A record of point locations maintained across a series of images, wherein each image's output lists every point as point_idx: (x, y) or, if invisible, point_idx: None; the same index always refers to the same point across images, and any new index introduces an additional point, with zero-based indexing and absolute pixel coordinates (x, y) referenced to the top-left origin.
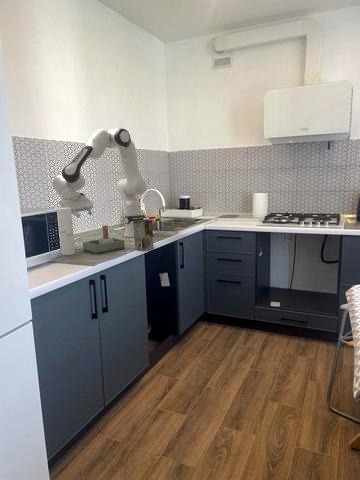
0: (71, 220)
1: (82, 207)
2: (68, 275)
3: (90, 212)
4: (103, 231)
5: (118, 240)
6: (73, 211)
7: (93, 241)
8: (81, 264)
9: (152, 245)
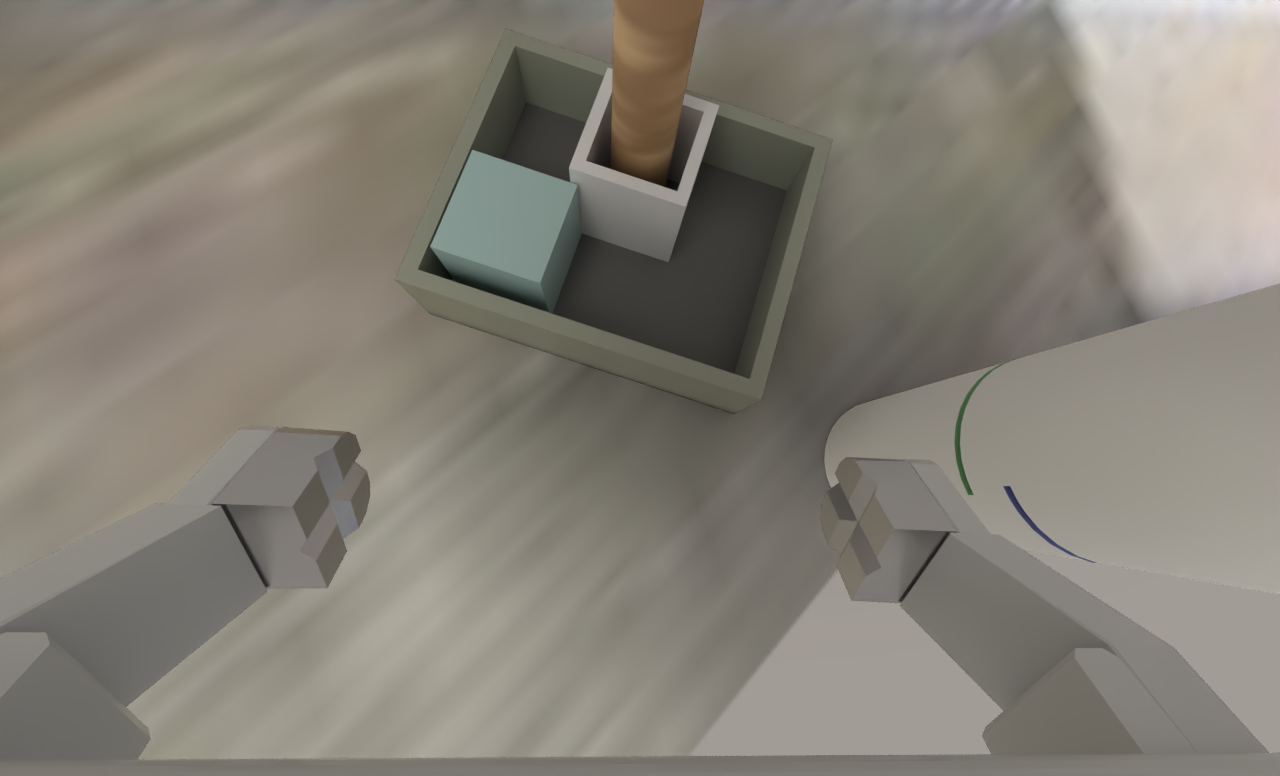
0: (1274, 285)
1: (529, 770)
2: (1265, 6)
3: (308, 452)
4: (689, 68)
5: (491, 113)
6: (1176, 683)
7: (638, 344)
8: (1072, 96)
9: None
